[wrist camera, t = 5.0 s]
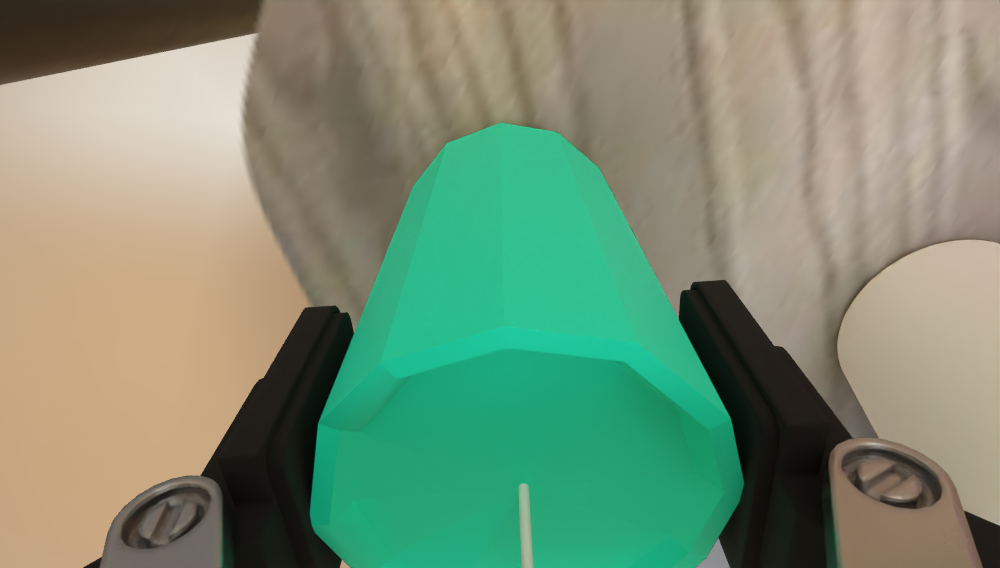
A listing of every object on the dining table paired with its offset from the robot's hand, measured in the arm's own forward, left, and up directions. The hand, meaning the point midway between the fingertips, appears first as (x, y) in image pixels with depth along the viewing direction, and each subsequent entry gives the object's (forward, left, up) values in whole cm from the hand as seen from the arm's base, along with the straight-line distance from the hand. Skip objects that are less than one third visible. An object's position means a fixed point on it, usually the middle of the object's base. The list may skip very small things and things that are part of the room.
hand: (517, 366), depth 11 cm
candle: (0, 0, -7) cm, 7 cm away
